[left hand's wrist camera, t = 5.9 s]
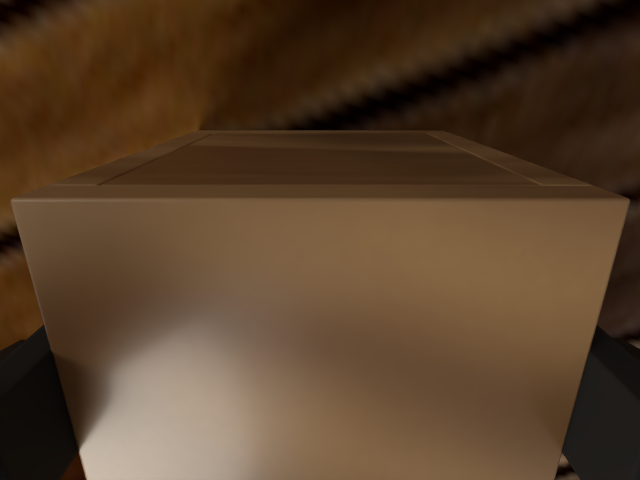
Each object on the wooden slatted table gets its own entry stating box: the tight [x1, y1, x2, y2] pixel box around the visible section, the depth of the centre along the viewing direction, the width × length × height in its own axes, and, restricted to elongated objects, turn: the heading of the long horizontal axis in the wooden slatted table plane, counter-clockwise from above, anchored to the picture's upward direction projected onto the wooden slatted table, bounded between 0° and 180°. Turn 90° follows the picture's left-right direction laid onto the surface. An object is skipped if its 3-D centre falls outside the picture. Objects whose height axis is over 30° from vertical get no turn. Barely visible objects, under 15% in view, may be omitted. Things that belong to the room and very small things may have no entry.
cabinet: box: [11, 130, 630, 480], centre depth 16 cm, size 19×11×12 cm, turn 0°
